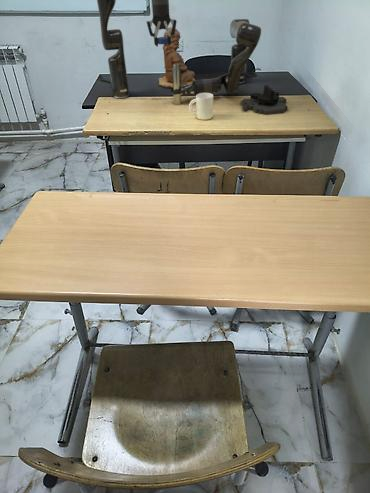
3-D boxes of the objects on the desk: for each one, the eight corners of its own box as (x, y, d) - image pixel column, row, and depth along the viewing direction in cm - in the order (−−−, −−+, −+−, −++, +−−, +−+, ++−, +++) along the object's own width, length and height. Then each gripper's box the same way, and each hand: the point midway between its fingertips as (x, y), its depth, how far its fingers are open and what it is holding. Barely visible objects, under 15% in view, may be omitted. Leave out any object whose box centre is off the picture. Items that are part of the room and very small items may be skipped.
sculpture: (197, 88, 213) (196, 30, 194) (156, 89, 214) (152, 31, 194) (196, 75, 234) (196, 22, 215) (159, 76, 235) (156, 23, 215)
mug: (190, 121, 174) (189, 99, 167) (187, 115, 180) (187, 93, 173) (214, 119, 175) (214, 97, 168) (211, 113, 181) (211, 92, 174)
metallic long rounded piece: (174, 104, 193) (173, 65, 181) (172, 102, 196) (171, 63, 184) (182, 103, 194) (181, 64, 181) (180, 101, 197) (179, 62, 185)
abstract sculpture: (249, 96, 171) (238, 84, 186) (248, 115, 177) (236, 102, 192) (299, 92, 174) (283, 80, 189) (296, 111, 180) (281, 98, 195)
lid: (160, 41, 171) (159, 36, 170) (170, 42, 170) (169, 37, 168) (155, 44, 168) (154, 38, 166) (165, 44, 166) (165, 39, 165)
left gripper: (145, 4, 155) (148, 48, 165) (177, 2, 157) (179, 46, 167) (143, 2, 160) (146, 45, 171) (174, 0, 162) (176, 43, 173)
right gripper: (197, 76, 197) (167, 80, 193) (207, 83, 186) (176, 87, 183) (197, 90, 202) (168, 94, 198) (207, 98, 191) (176, 102, 187)
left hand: (162, 45), depth 169 cm, fingers closed on lid, 5 cm apart
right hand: (172, 91), depth 190 cm, fingers closed on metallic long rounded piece, 4 cm apart
